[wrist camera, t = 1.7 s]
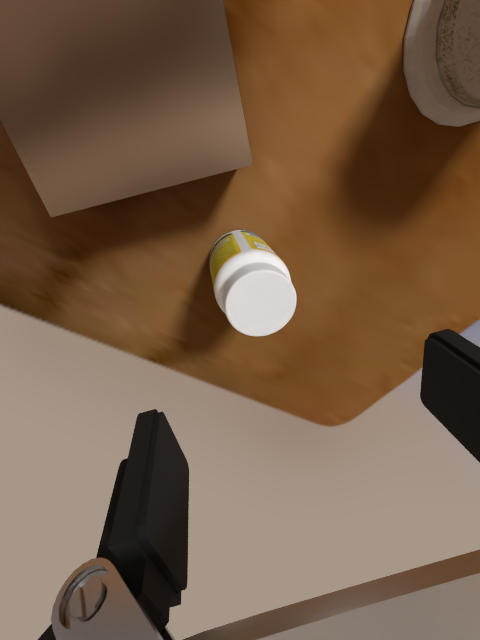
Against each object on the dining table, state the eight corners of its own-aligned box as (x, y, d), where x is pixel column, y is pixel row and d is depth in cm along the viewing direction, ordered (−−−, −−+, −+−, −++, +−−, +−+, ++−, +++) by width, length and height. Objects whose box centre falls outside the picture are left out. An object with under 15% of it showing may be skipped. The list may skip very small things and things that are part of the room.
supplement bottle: (213, 292, 24) (223, 349, 17) (203, 233, 22) (209, 270, 15) (271, 282, 25) (304, 335, 17) (267, 224, 22) (303, 256, 15)
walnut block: (-26, -27, 15) (-119, -106, 10) (191, -80, 15) (190, -180, 10) (81, 204, 20) (50, 217, 16) (239, 163, 20) (252, 165, 16)
